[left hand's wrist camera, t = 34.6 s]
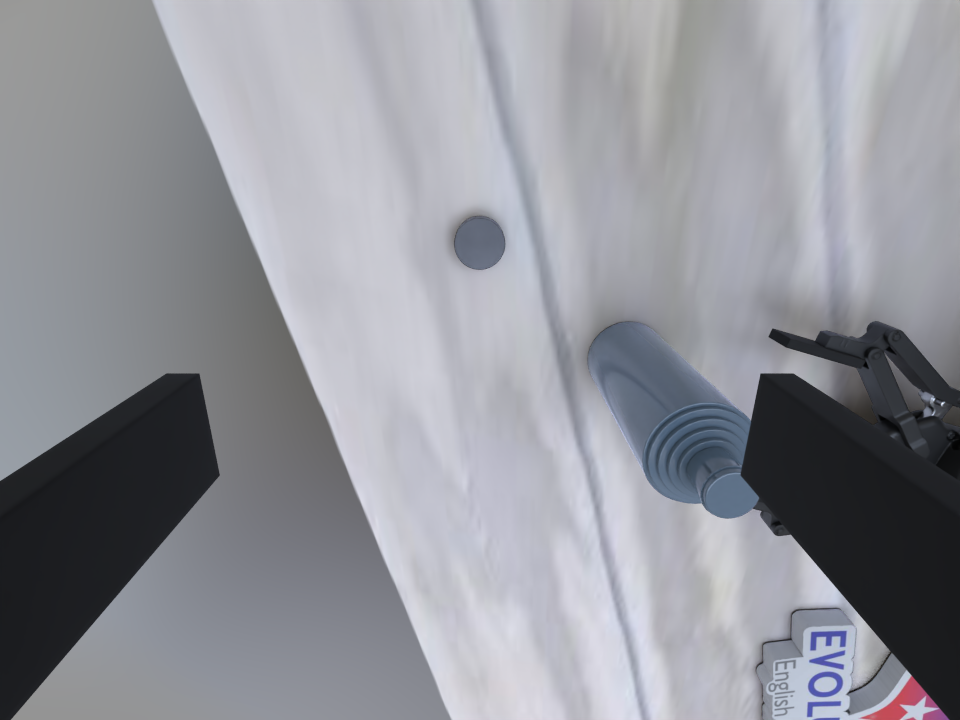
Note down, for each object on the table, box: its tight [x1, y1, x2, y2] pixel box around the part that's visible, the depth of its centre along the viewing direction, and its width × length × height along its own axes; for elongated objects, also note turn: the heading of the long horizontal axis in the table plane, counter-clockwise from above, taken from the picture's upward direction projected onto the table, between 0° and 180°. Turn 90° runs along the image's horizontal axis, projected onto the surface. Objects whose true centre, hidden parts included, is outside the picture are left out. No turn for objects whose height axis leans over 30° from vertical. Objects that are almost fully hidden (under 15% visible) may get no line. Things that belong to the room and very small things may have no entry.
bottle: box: [588, 322, 759, 519], centre depth 39 cm, size 7×7×22 cm
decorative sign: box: [756, 609, 949, 720], centre depth 63 cm, size 34×2×30 cm
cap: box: [454, 216, 505, 270], centre depth 44 cm, size 4×4×2 cm
